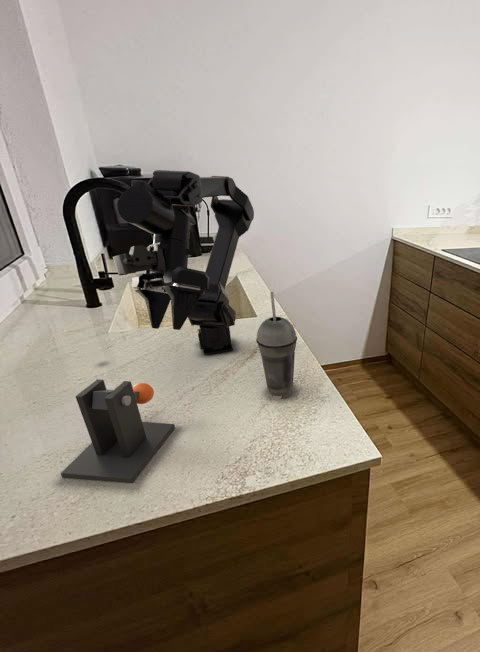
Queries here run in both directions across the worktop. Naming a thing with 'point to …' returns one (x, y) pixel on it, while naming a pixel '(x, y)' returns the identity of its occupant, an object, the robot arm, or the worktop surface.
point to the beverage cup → (277, 353)
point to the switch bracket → (115, 437)
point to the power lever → (141, 393)
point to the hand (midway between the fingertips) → (165, 329)
